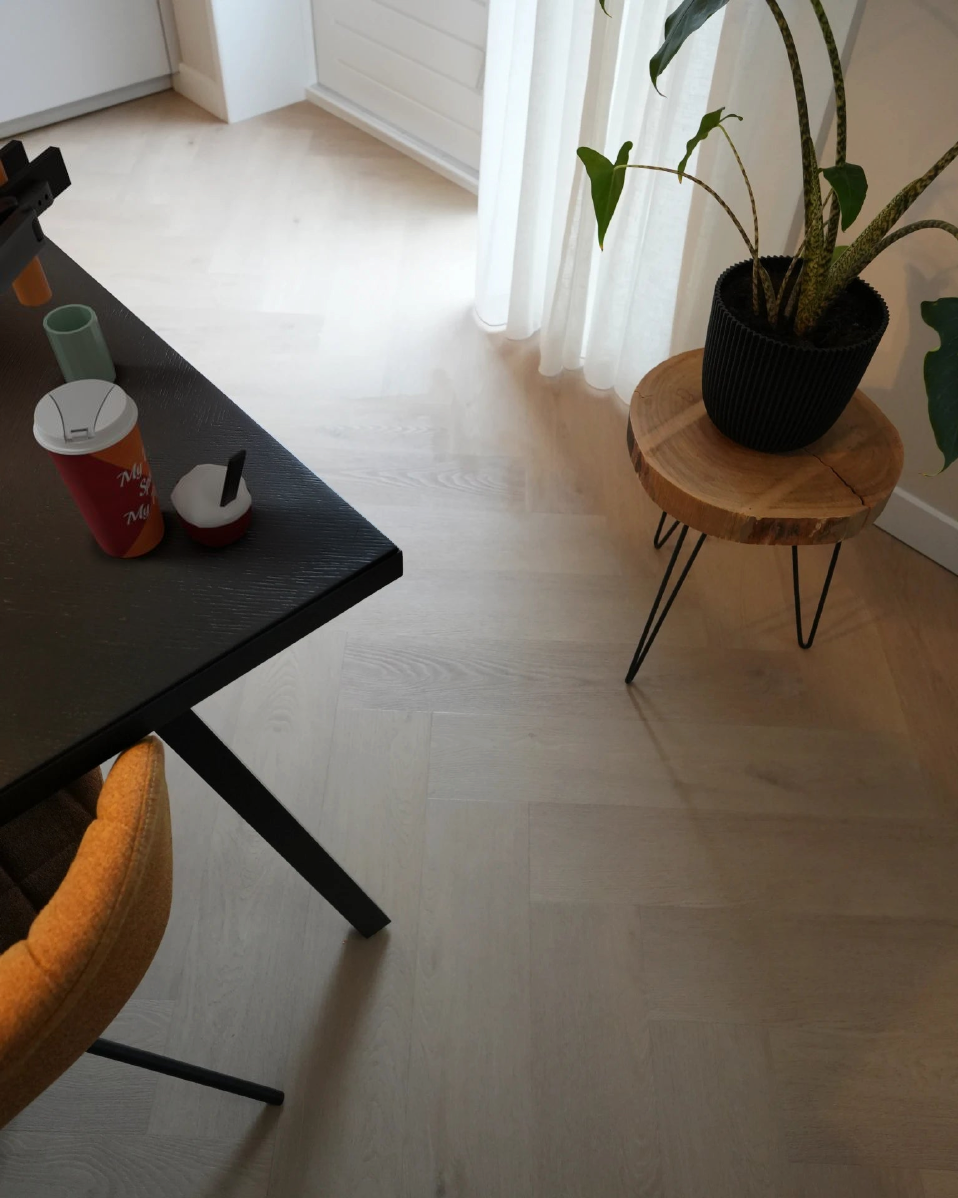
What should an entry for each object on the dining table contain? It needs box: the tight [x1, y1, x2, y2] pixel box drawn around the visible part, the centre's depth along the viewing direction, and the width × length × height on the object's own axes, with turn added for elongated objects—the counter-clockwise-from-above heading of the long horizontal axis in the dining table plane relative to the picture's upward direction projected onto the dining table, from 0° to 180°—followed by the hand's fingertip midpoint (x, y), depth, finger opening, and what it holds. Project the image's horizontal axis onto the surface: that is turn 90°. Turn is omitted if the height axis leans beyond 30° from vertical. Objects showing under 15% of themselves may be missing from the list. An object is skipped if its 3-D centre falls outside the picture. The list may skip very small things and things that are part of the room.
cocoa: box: [169, 449, 253, 548], centre depth 79 cm, size 10×6×12 cm, turn 28°
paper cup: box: [32, 379, 165, 559], centre depth 78 cm, size 8×8×14 cm
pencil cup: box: [42, 303, 117, 384], centre depth 94 cm, size 5×5×7 cm
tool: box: [0, 160, 53, 307], centre depth 67 cm, size 2×2×14 cm
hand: (42, 162), depth 70 cm, fingers closed on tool, 2 cm apart
